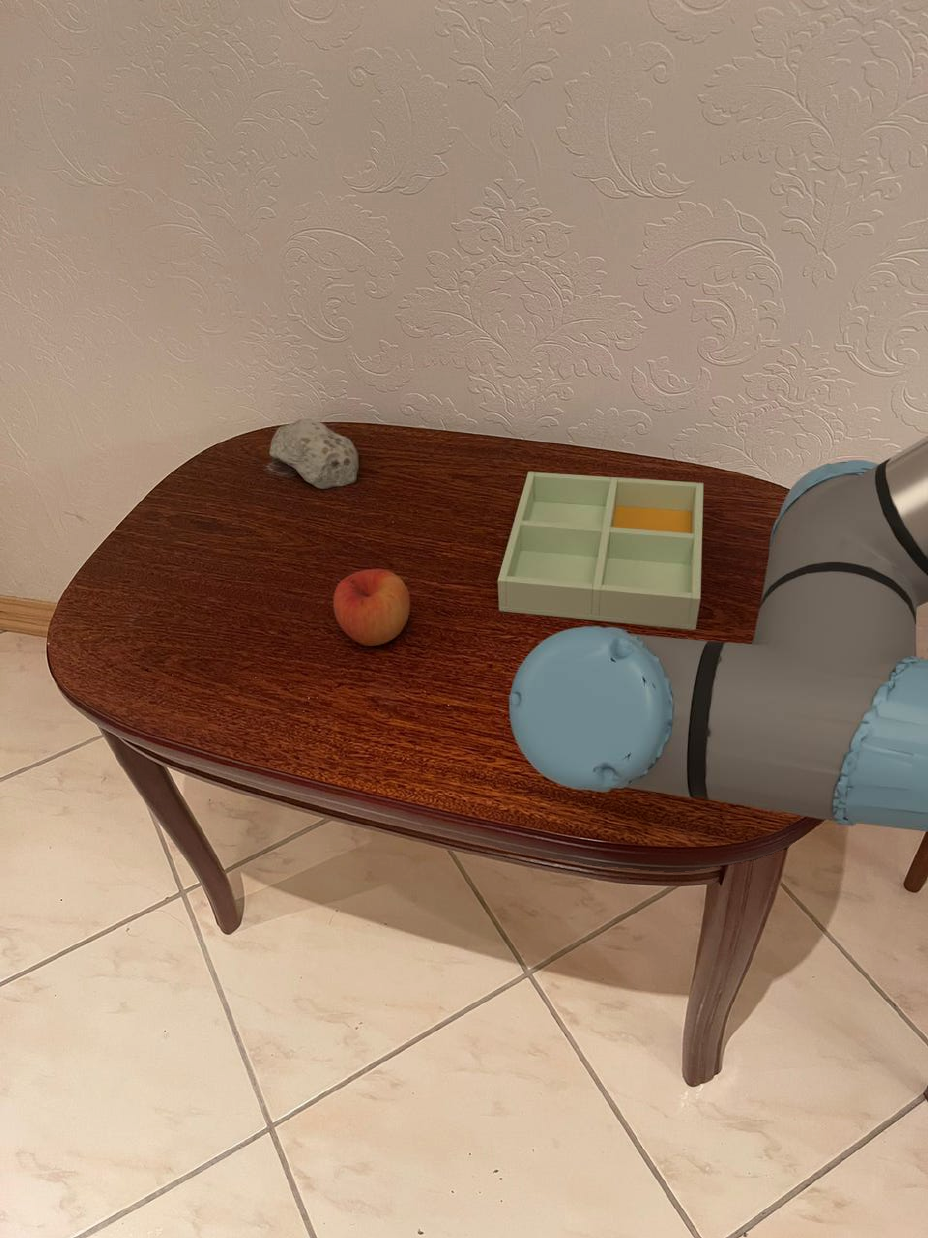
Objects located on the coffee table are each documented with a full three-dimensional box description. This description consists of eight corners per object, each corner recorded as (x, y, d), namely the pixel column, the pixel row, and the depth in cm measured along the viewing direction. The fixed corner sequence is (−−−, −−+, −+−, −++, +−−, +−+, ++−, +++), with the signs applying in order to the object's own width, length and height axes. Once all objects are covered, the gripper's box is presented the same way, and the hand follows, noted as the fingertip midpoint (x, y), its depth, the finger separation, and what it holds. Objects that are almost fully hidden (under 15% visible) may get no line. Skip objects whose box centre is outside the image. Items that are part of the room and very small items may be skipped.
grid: (699, 513, 100) (703, 482, 97) (695, 630, 86) (700, 598, 83) (528, 500, 104) (528, 471, 101) (498, 611, 90) (497, 580, 87)
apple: (427, 641, 87) (420, 579, 82) (362, 673, 84) (349, 610, 79) (391, 601, 92) (382, 540, 86) (328, 630, 89) (314, 568, 84)
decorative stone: (256, 483, 110) (247, 448, 106) (294, 438, 117) (287, 404, 114) (347, 496, 106) (341, 460, 103) (380, 448, 114) (375, 414, 111)
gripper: (447, 697, 58) (545, 699, 78) (842, 848, 48) (840, 806, 68) (482, 588, 58) (571, 617, 77) (886, 717, 48) (872, 713, 68)
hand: (697, 705), depth 73 cm, fingers open, 13 cm apart
